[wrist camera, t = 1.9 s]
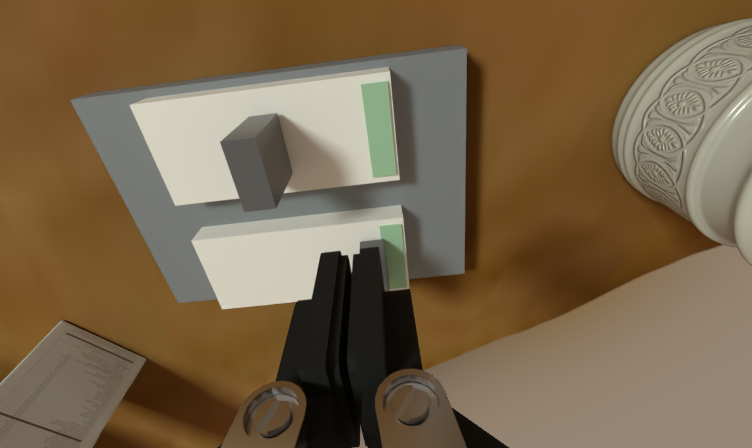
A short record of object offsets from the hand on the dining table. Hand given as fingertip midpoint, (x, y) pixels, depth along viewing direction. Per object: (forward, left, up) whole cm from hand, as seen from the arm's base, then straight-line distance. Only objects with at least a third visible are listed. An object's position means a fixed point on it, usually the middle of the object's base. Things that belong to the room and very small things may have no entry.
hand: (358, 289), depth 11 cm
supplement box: (+23, -34, -19) cm, 45 cm away
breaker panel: (+5, -6, -19) cm, 21 cm away
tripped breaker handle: (0, -6, -14) cm, 16 cm away
